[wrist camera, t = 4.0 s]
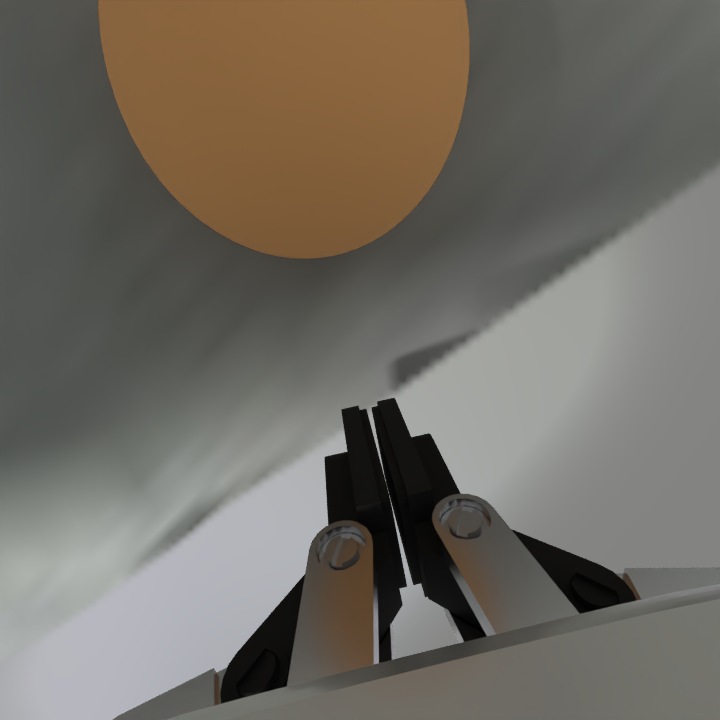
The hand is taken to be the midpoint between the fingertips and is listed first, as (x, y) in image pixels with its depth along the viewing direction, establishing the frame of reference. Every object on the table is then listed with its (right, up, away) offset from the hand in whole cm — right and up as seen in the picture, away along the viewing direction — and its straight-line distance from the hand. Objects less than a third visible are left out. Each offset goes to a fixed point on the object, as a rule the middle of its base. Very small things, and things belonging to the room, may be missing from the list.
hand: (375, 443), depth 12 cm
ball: (-2, +8, -5) cm, 9 cm away
